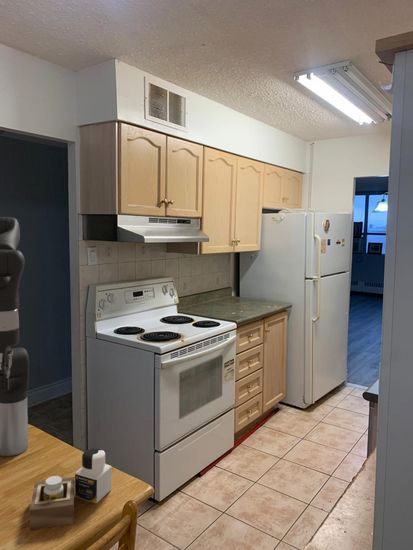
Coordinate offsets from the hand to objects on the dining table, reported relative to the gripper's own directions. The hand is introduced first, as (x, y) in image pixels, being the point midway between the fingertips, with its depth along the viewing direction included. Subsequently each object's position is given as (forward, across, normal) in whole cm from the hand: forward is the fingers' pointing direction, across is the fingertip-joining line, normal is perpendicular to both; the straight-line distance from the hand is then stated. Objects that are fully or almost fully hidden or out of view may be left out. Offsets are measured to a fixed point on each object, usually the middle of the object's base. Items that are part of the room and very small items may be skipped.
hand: (3, 390), depth 113 cm
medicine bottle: (+29, -5, -23) cm, 37 cm away
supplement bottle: (+29, -10, -13) cm, 33 cm away
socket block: (+29, -10, -13) cm, 33 cm away
